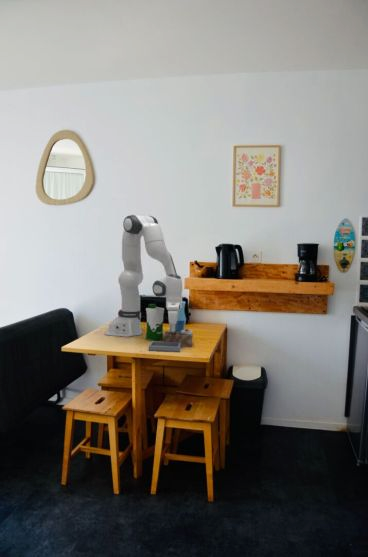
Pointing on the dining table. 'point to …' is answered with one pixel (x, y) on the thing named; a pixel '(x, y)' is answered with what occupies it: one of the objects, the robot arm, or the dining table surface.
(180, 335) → the tensioner block
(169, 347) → the tray
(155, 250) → the robot arm
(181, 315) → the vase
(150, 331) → the milk carton
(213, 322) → the dining table surface
